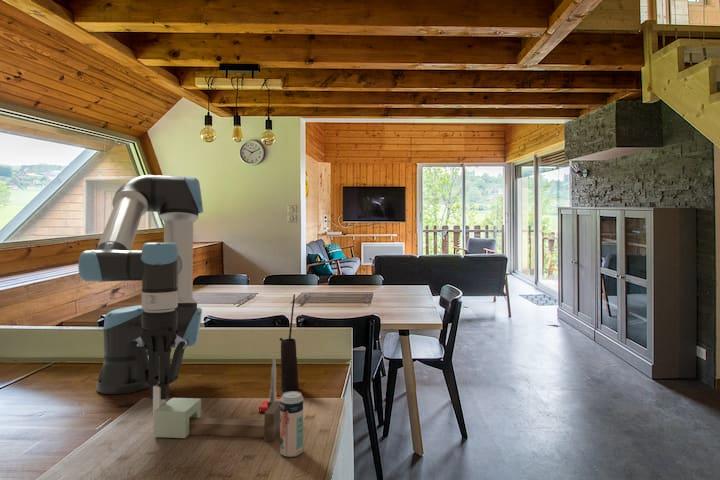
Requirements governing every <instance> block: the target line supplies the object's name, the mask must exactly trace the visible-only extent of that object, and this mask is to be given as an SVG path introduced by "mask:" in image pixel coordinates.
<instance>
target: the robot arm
mask: <svg viewBox="0 0 720 480" xmlns="http://www.w3.org/2000/svg"><path fill="white" fill-rule="evenodd" d="M201 191H202V190H201V185H200V180H199V179H198V178H196V177H192V176H185V175H183V176H179V175H178V176H177V175H155V174H145V175H140V176H136V177H134V178H132V179H130V180H129V181H126V182H125V183H124V184H123V185H121V186H120V187H119V188H118V189H117V191H116V192H115V194H114V196H113V197H112V201H111V202H112V207H113V208H112V211H111V213H110V215H109V218H108V220H107V222H106V224H105V227H104V229H103V232H102V234H101V237H100V239H99V241H98V244H97V246H96V248H95V249H89V250H84V251H82V252H81V253H80V255H79V259H78V274H79V276H80V279H81V280H82V281H84V282H99V283H103V282H131V281H132V282H135V281H136V282H138V281H140V282H141V305H140V304H139V305H133V306H126V307H120V308H117V309H113V310H111V311H109V312H107V313H106V314H105V316H104V323H103V328H102V329H103V364H102V368H101V370H100V372H99V375H98V377H97V381H96V391H97V392H98V393H99V394H103V395H104V394H105V395H121V394H128V393H134V392H138V391H142V390H145V389H148V388H149V399H150V400H152V415H153V416H154V411H155V410H156V409H158V408H159V407H160V406H162V405H163V404H165V403H166V402H167V400H166V399H168V398H169V396H170V384H172V383H173V382H175V381H176V380H178V379H179V373H180V371H181V370H180V369H181V365H182V362H183V361H182V360H183V358H184V353H185V349H186V348H187V347H192V346H194V345H196V344H197V342H198V339H199V334H200V330H201V329H200V328H201V322H202V314H203V309H202V308H201V307H198V301H196V300H195V298H194V297H193V278H194V277H193V274H194V272H193V269H194V268H193V267H194V265H193V264H194V260H193V259H194V257H193V256H194V223H195V222H197V220H199V214H202V213H204V207H203V199H202V192H201ZM148 212H154V213H155V212H156V213H159V215H158V217H159V219H161V221H163V222H164V224H163V226H164V227H163V242H145V243H144V244H143V245H142V248H141V250H140V249H139V250H138V249H137V250H133V249H132V248H133V244H134V241H135V239H136V235H137V232H138V228H139V226H140V223H141V219H142V217H143V216H144V215H145V214H146V213H148ZM173 348H175V349H174V352H173V355H172V358H171V353H172V349H173ZM171 359H172V360H171Z"/></svg>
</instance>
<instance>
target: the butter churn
mask: <svg viewBox="0 0 720 480" xmlns="http://www.w3.org/2000/svg"><path fill="white" fill-rule="evenodd" d="M292 298H293V299H292V307H291V315H290V323H289V335H288V338H287V339H283V338H282V337H280V338H279V341H280V377H281V378H280V381H281V382H280V384H281V385H280V389H281V391H282V392H283V393H286V392H290V391H297V392H298V390H299V389H300V385H299V382H300V381H299V371H298V357H297V342H296V339H295V338H291V337H292V331H293V330H292V327H293V319H294V307H295V299H296V294H293V297H292Z"/></svg>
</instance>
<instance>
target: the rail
mask: <svg viewBox="0 0 720 480" xmlns="http://www.w3.org/2000/svg"><path fill="white" fill-rule="evenodd" d="M279 434H280V402H273V403H272V404H271V405H270V407H269V408H268V410H267V411H266V412H264V419H251V418H250V419H247V418H245V419H244V418H243V419H242V418H221V417H220V418H218V417H217V418H216V417H214V418H213V417H211V418H210V417H201V418H190V417H189V435H195V436H196V435H198V436H199V435H201V436H223V437H224V436H228V437H254V438H255V437H256V438H263V439H264V440H263V441H264V442H267V443H268V442H275V440H276V439H277V436H278V435H279Z"/></svg>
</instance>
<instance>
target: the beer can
mask: <svg viewBox="0 0 720 480" xmlns="http://www.w3.org/2000/svg"><path fill="white" fill-rule="evenodd" d="M280 397H281V399H280V431H279V453H280V455H282V456H284V457H285V458H295V457H298V456H299V455H301V454H302V453H303V452H304V396H303V395H302V392H300V391H298V390H297V391H290V392H283V393H282V396H280Z"/></svg>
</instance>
